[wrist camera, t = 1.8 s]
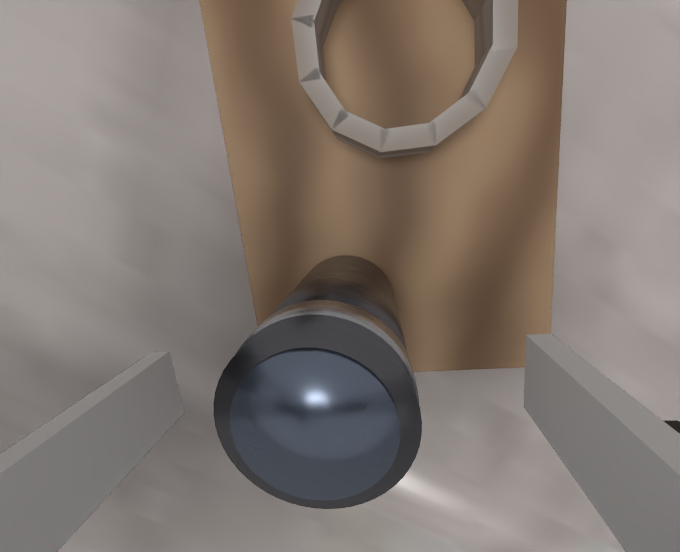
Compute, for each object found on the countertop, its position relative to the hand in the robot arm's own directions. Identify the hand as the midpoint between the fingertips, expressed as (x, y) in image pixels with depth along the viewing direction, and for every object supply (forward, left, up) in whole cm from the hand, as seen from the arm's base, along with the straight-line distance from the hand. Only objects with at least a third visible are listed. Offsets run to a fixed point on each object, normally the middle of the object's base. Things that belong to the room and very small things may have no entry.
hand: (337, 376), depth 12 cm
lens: (0, 0, -8) cm, 8 cm away
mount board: (+3, +7, -10) cm, 12 cm away
